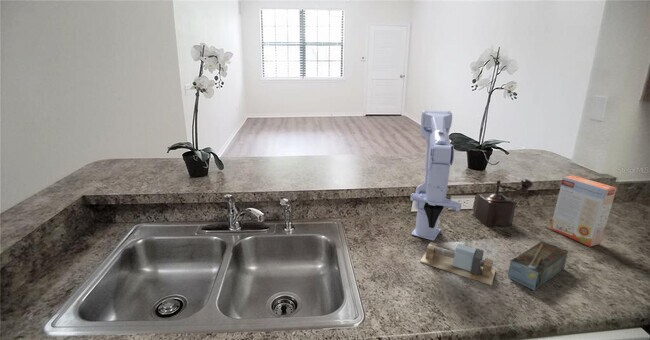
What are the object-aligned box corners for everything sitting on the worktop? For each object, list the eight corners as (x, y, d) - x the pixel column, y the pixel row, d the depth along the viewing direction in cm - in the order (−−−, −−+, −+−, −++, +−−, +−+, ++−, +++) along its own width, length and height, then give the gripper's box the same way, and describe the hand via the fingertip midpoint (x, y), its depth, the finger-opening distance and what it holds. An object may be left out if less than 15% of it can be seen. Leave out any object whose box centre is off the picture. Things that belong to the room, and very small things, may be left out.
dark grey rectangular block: (470, 273, 96) (473, 256, 94) (473, 264, 100) (476, 248, 99) (477, 275, 95) (480, 259, 93) (480, 266, 99) (483, 250, 98)
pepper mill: (487, 227, 125) (495, 182, 119) (472, 214, 135) (479, 172, 130) (526, 226, 126) (536, 181, 121) (508, 213, 137) (516, 171, 131)
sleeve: (452, 265, 99) (455, 249, 97) (456, 258, 102) (458, 242, 101) (470, 271, 96) (473, 254, 94) (473, 263, 100) (476, 247, 98)
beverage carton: (505, 277, 96) (509, 257, 94) (536, 257, 107) (541, 238, 105) (534, 292, 90) (539, 271, 88) (565, 269, 100) (570, 250, 98)
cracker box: (601, 244, 114) (618, 187, 108) (589, 247, 112) (606, 189, 106) (560, 226, 126) (573, 174, 120) (549, 229, 124) (562, 176, 118)
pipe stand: (420, 262, 102) (421, 249, 101) (427, 250, 109) (429, 238, 107) (491, 285, 92) (494, 271, 91) (495, 270, 98) (498, 257, 97)
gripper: (408, 183, 99) (404, 225, 103) (460, 194, 91) (453, 238, 95) (416, 177, 104) (412, 217, 108) (465, 186, 97) (458, 229, 101)
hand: (431, 226), depth 102 cm, fingers closed
